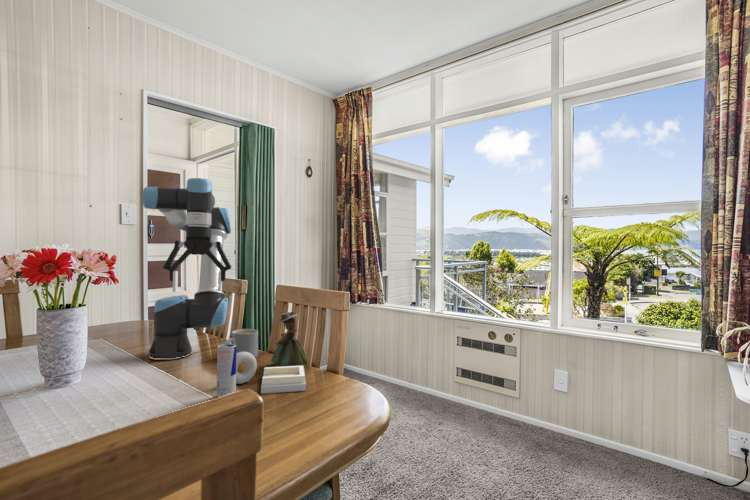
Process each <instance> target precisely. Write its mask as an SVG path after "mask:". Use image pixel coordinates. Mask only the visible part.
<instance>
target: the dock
mask: <svg viewBox="0 0 750 500" xmlns="http://www.w3.org/2000/svg"><path fill="white" fill-rule="evenodd" d="M261 378H262V380H261V386H260V394H274V393H275V394H276V393H289V392H290V393H291V392H292V393H293V392H305V391H306V388H307V387H306V386H307V385H306V384H307V383H306V375H305V365H304V366H303V365H302V366H282V367H275V366H269V367H268V366H267V367H264V368H263V376H262V377H261Z"/></svg>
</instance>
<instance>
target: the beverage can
mask: <svg viewBox="0 0 750 500" xmlns="http://www.w3.org/2000/svg"><path fill="white" fill-rule="evenodd" d="M216 355H217V356H216V357H217V360H216V361H217V362H216V364H217V365H216V366H217V367H216V397H217V398H218V397H220V396H223V395H226V394H228V393H232V392H235V391H236V392H237V384H236V344H231V343H229V344H224V343H222V344H219V345H217V353H216Z"/></svg>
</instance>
